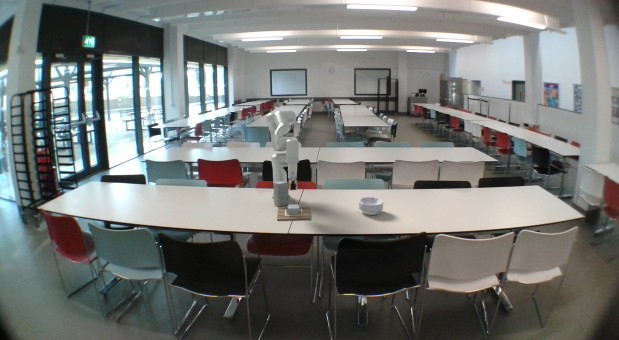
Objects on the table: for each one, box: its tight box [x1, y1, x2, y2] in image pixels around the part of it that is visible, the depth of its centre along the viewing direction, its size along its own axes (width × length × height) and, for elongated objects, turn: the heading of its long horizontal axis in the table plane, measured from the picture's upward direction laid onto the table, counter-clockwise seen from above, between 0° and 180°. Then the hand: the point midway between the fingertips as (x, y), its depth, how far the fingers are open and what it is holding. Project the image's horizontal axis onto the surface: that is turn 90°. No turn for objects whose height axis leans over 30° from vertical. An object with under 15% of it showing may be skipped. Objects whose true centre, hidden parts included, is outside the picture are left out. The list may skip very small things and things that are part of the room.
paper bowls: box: [358, 196, 384, 216], centre depth 220 cm, size 15×15×8 cm
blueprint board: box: [276, 204, 311, 222], centre depth 219 cm, size 20×20×5 cm
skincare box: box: [273, 181, 290, 208], centre depth 235 cm, size 8×7×16 cm
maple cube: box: [288, 179, 298, 191], centre depth 215 cm, size 5×5×5 cm
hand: (293, 188), depth 215 cm, fingers closed on maple cube, 4 cm apart
